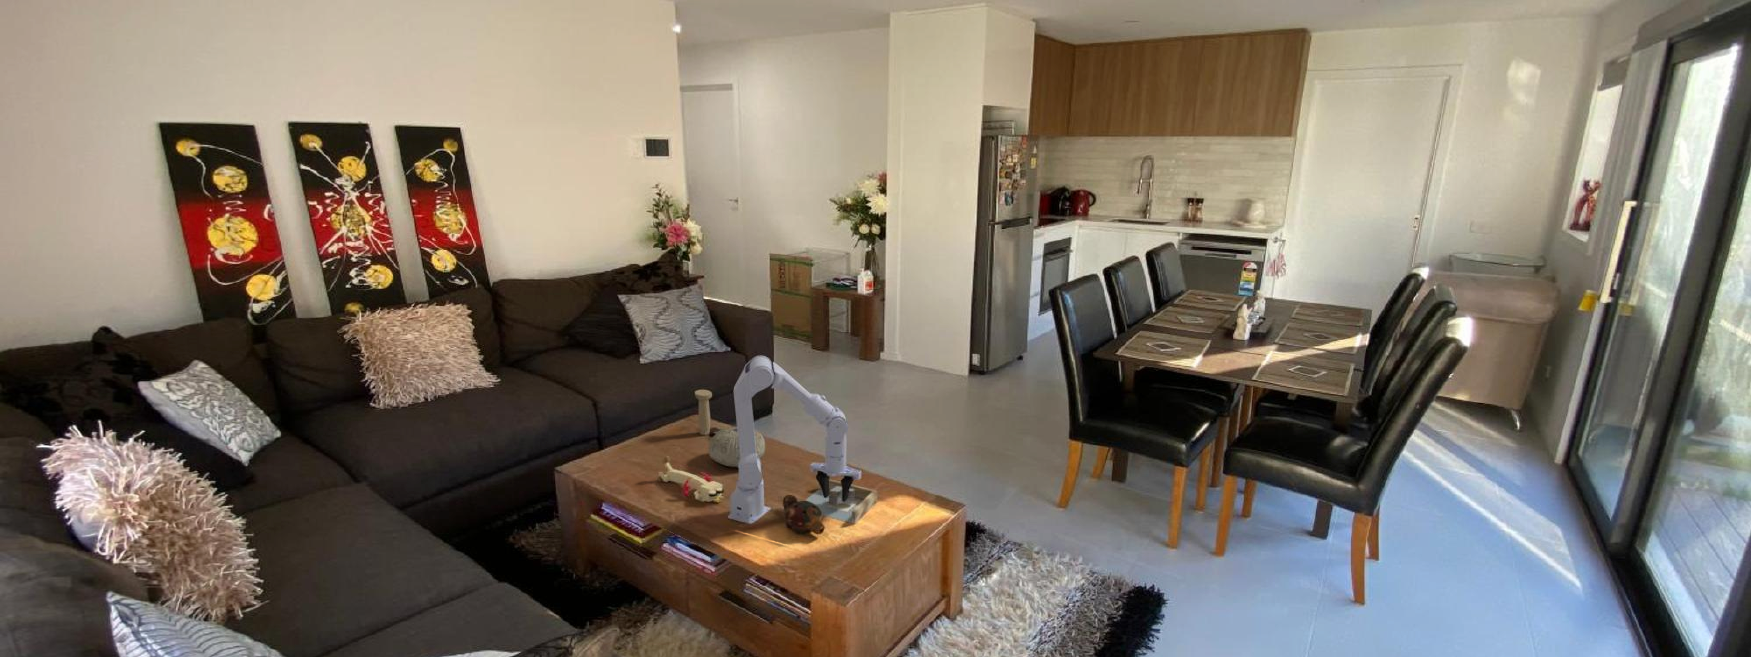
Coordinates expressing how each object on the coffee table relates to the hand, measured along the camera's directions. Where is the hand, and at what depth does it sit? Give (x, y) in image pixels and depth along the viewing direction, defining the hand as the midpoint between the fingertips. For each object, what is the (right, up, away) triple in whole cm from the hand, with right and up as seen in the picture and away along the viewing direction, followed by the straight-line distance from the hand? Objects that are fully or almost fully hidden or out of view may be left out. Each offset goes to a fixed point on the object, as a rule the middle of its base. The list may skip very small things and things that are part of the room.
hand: (835, 498), depth 212 cm
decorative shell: (-33, +5, +29) cm, 44 cm away
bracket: (+2, -2, 0) cm, 2 cm away
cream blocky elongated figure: (-42, 0, +9) cm, 43 cm away
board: (0, -3, +1) cm, 3 cm away
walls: (0, -3, +1) cm, 3 cm away
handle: (-47, +11, +48) cm, 68 cm away
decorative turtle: (-8, -6, -11) cm, 15 cm away
